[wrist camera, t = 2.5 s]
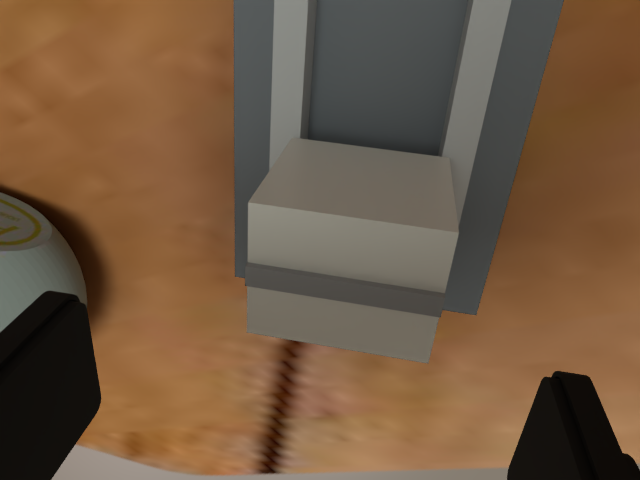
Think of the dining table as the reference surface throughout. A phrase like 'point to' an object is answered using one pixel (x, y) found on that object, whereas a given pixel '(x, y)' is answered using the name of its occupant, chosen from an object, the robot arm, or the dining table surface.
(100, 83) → the dining table surface
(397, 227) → the fader cap
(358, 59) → the slider panel
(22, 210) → the air freshener
